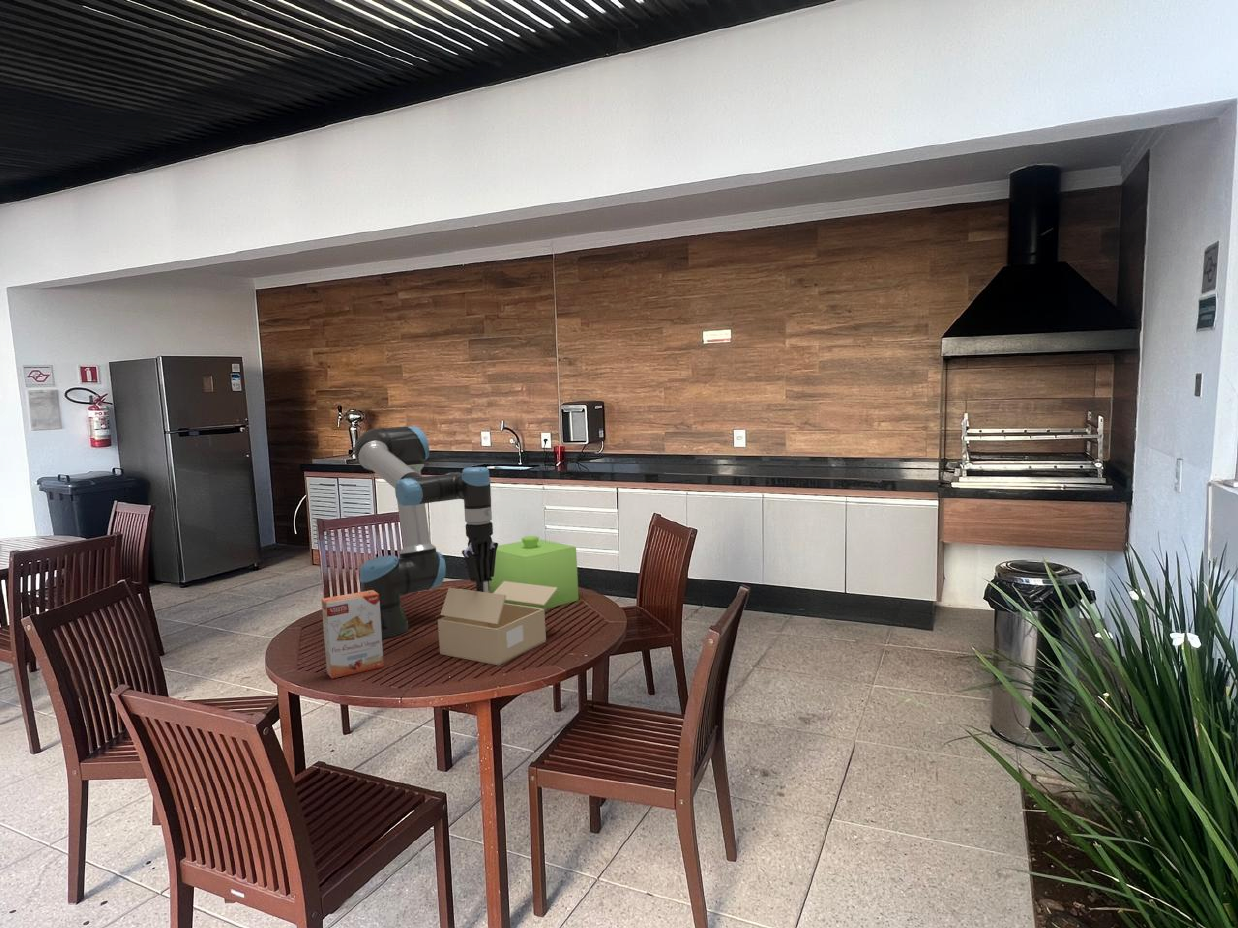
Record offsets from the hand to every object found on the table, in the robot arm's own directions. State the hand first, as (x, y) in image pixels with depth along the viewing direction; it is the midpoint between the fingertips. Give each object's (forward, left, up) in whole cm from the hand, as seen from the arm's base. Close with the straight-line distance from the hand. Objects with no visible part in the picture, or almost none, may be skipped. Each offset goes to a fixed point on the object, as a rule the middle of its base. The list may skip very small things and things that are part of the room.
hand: (483, 603), depth 210 cm
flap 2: (0, +13, -4) cm, 14 cm away
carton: (0, +3, -14) cm, 14 cm away
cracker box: (-23, -27, -14) cm, 38 cm away
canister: (-21, +48, -14) cm, 54 cm away
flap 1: (0, -7, -4) cm, 8 cm away
